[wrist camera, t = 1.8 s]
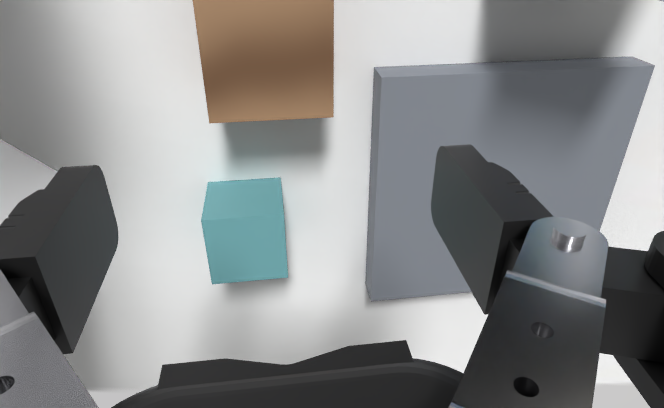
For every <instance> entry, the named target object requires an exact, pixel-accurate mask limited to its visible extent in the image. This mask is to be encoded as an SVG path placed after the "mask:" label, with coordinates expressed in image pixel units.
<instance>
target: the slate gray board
mask: <svg viewBox="0 0 664 408" xmlns="http://www.w3.org/2000/svg"><path fill="white" fill-rule="evenodd" d="M654 67H655V65H652V64H650V63H647V62H645V61H642V60H639V59H637V58H634V57H611V58H587V59H563V60H539V61H515V62H491V63H467V64H443V65H419V66H395V67H374V86H373V111H372V136H371V161H370V186H369V211H368V236H367V261H366V286H367V289H368V293H369V296H370V300H371V301H380V300H390V299H401V298H412V297H422V296H433V295H443V294H454V293H464V292H472V291H471V290H470V288H469V286H468V284H467V282H466V281H465V279H464V277H463V275H462V274H461V272H460V270H459V268H458V266H457V265H456V263H455V261H454V259H453V258H452V256H451V254H450V252H449V250H448V249H447V247H446V245H445V243H444V242H443V240H442V238H441V236H440V234H439V233H438V231H437V229H436V227H435V225H434V223H433V219H432V214H431V198H432V189H433V180H434V172H435V163H436V156H437V151H438V149H439V147H440V146H450V145H467V144H471V145H472V146H474V148H475V149H476V150H477V151H478V152H479V153H480V154H481V155H482V156H483V157H484V158H485V160H486V161H487V162H493V163H495V164H497V165H499V166H501V167H503V168H505V169H507V170H509V171H510V172H511V173H512V174H513V175H514V176H515V177H516V178H517V179H518V180H519V181H520V184H523V185H524V186H525V187H526V188H527V189H528V190H529V193H532V195H533V196H534V197H535V198H536V199H537V200H538V201H539V202H540V203H541V204H542V205H543V206H544V207H545V208H546V209H547V210H548V211H549V212H550V213H551V214H552V215H553V216H554V217H563V218H569V219H574V220H577V221H580V222H583V223H586V224H588V225H590V226H592V227H593V228H595V229H597V230H598V231H600V228H601V225H602V222H603V219H604V216H605V213H606V210H607V207H608V204H609V201H610V198H611V195H612V192H613V189H614V186H615V183H616V180H617V177H618V174H619V171H620V168H621V165H622V162H623V159H624V156H625V153H626V150H627V147H628V144H629V141H630V138H631V135H632V132H633V129H634V126H635V123H636V120H637V117H638V114H639V111H640V108H641V105H642V102H643V99H644V96H645V93H646V90H647V87H648V84H649V81H650V78H651V75H652V73H653V70H654Z"/></svg>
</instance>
